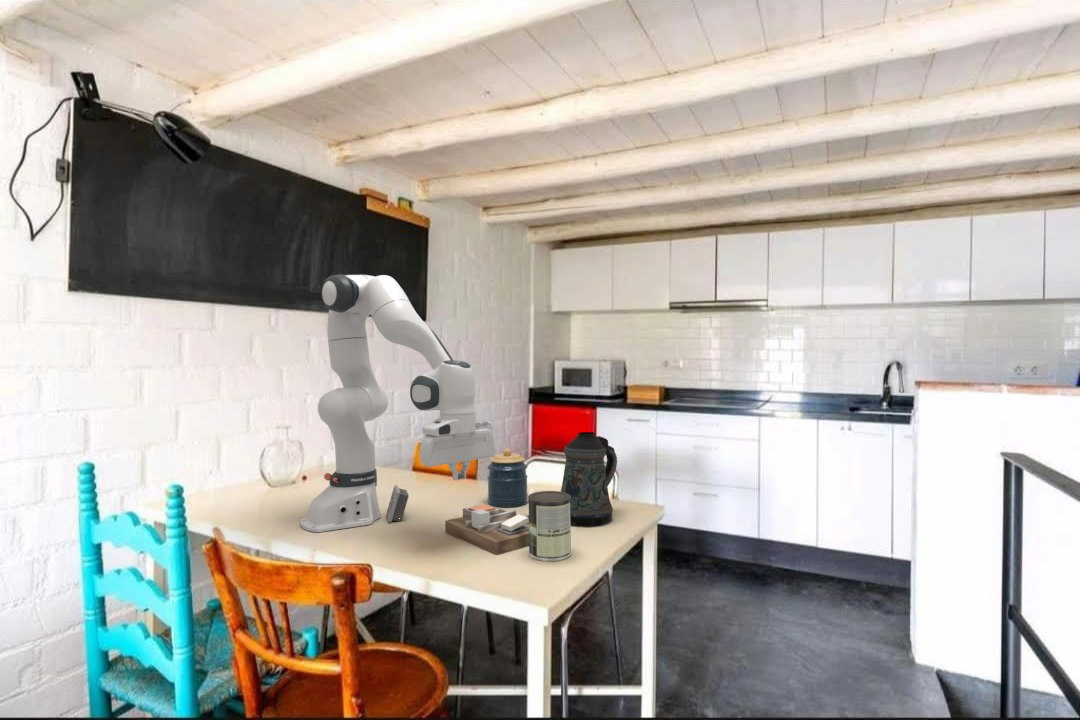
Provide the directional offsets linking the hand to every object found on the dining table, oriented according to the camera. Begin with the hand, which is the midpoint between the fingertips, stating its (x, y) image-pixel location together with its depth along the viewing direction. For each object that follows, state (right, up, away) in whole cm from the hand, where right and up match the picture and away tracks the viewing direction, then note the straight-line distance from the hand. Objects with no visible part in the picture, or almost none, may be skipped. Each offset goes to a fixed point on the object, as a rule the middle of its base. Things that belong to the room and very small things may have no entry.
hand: (459, 479), depth 147 cm
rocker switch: (+14, -12, +2) cm, 18 cm away
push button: (+4, -13, +14) cm, 20 cm away
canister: (+10, -16, +41) cm, 46 cm away
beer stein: (+34, -16, +24) cm, 44 cm away
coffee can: (+23, -17, -7) cm, 29 cm away
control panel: (+9, -17, +8) cm, 21 cm away
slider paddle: (+5, -14, +4) cm, 15 cm away
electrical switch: (-22, -17, +25) cm, 37 cm away
